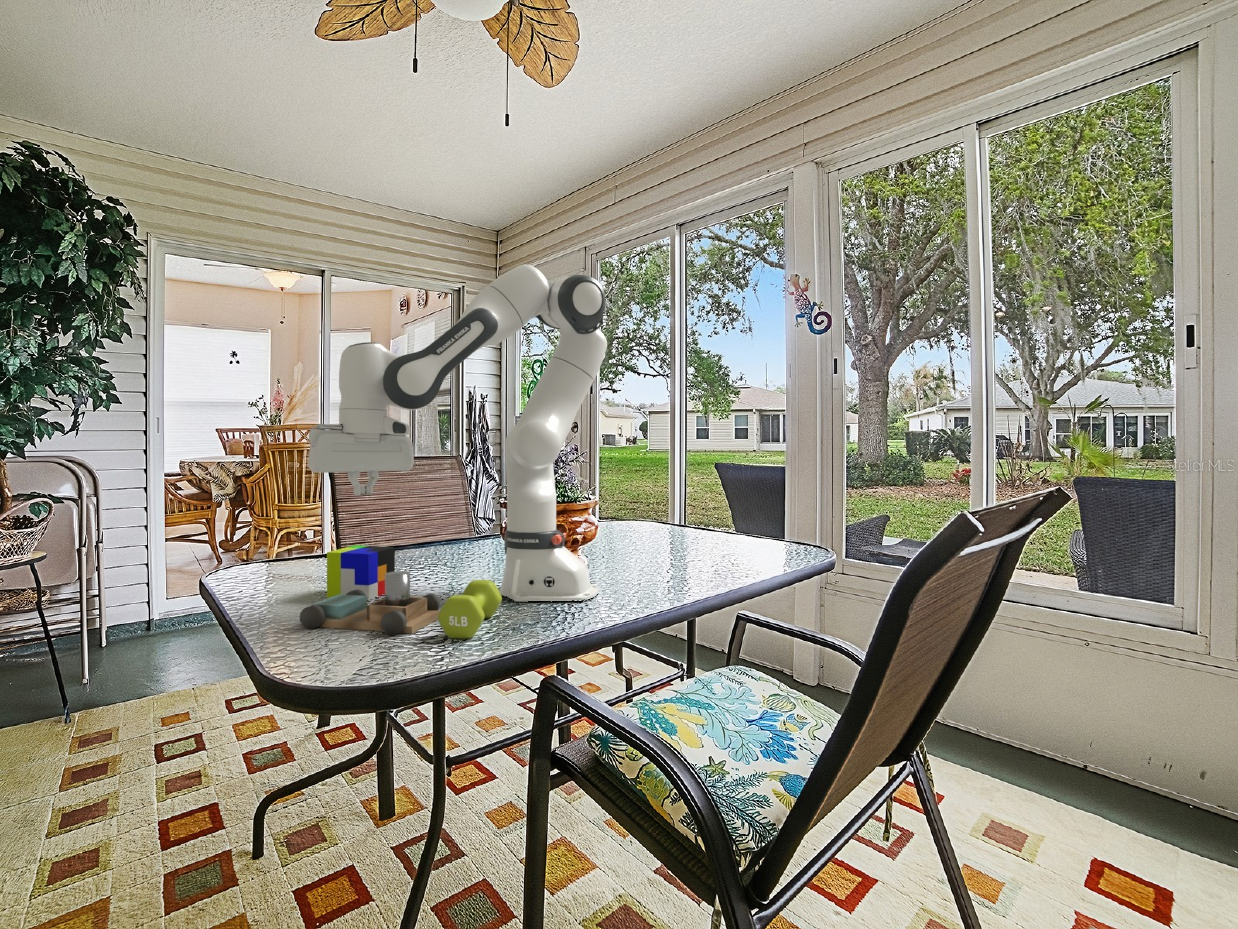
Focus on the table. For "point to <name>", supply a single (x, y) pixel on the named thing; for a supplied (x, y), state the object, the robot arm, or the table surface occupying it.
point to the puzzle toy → (359, 570)
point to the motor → (397, 588)
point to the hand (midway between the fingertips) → (363, 494)
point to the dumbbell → (469, 609)
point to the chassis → (371, 613)
